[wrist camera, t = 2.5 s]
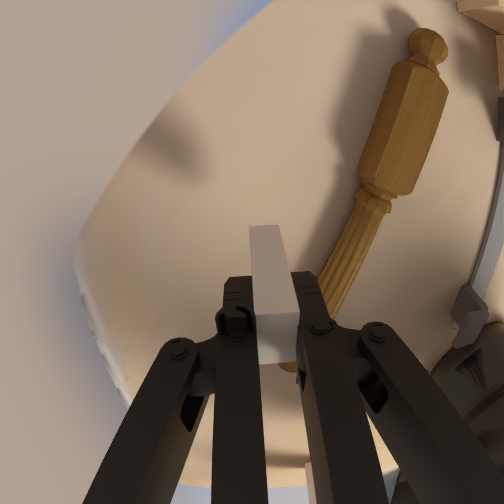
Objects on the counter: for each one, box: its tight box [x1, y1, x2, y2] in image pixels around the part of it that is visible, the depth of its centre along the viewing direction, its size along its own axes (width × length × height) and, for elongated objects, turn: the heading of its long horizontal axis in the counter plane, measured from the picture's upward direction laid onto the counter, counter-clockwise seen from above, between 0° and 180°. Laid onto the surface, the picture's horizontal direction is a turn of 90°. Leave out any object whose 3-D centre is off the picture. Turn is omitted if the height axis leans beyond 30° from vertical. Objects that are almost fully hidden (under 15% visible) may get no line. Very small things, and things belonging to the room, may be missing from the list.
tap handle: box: [278, 28, 449, 373], centre depth 19 cm, size 3×3×30 cm
